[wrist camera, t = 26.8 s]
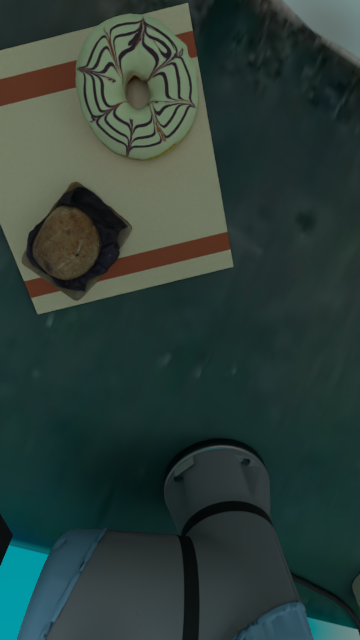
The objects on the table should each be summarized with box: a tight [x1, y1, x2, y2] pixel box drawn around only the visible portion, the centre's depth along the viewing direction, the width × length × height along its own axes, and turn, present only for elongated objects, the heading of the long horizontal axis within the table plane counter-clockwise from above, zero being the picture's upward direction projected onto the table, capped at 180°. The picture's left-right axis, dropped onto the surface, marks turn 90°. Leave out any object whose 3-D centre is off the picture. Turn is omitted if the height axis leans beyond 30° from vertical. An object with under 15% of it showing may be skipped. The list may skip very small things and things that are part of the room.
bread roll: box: [21, 182, 132, 301], centre depth 34 cm, size 11×8×4 cm
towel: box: [0, 3, 233, 314], centre depth 34 cm, size 24×23×1 cm
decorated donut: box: [75, 14, 199, 161], centre depth 29 cm, size 10×11×4 cm
